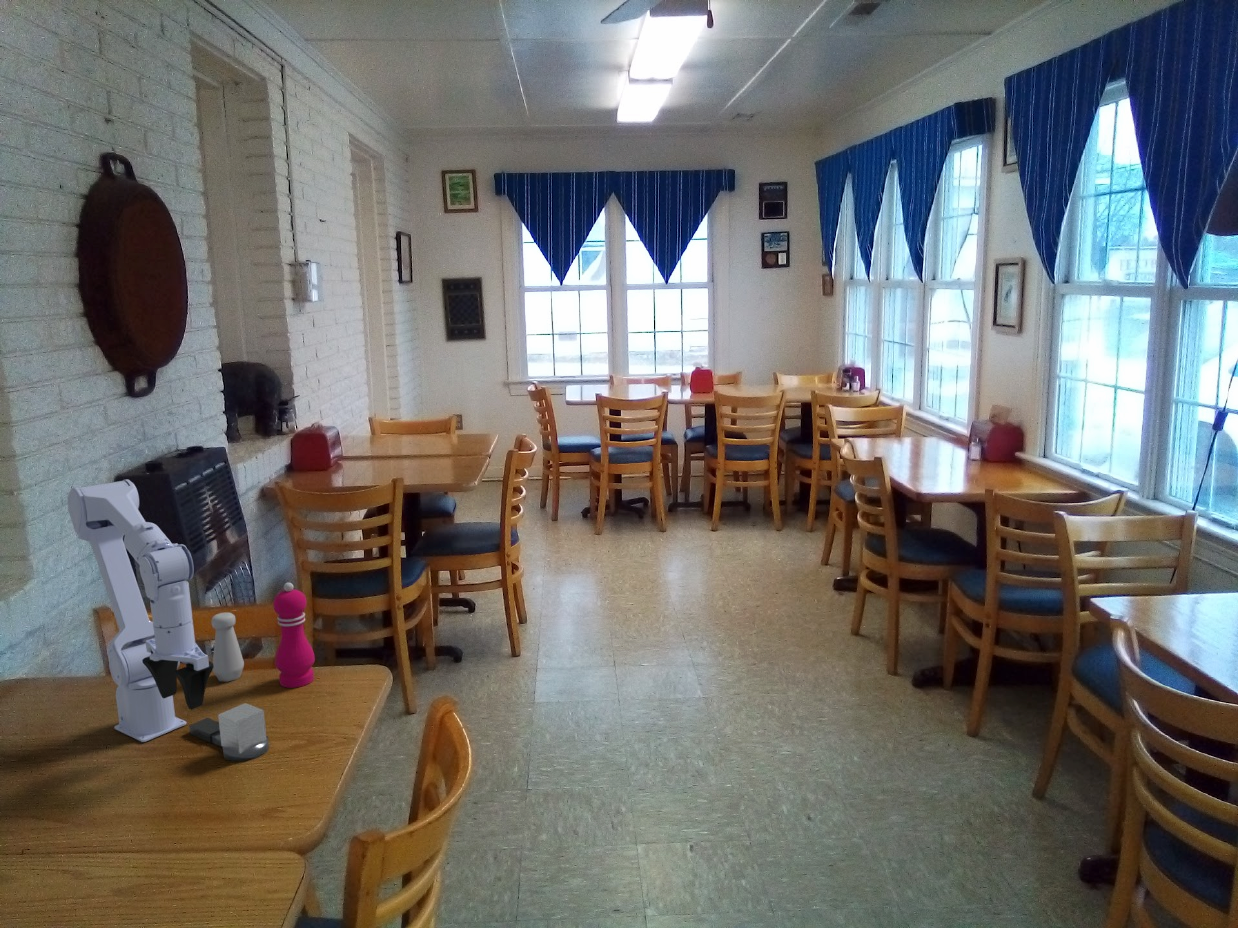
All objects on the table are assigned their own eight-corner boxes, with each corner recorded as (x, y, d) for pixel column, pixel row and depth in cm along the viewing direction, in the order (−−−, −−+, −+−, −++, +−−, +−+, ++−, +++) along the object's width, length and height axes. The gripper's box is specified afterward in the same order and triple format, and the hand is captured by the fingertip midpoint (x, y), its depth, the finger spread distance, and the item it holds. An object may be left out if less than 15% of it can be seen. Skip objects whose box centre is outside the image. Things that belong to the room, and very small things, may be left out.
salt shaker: (233, 684, 179) (226, 620, 176) (207, 682, 180) (199, 619, 177) (251, 672, 184) (244, 610, 182) (225, 670, 185) (218, 608, 183)
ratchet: (179, 737, 158) (176, 713, 157) (216, 721, 164) (213, 698, 163) (240, 765, 148) (237, 740, 147) (277, 747, 154) (275, 722, 153)
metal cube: (221, 745, 152) (218, 714, 151) (248, 733, 156) (245, 702, 155) (239, 753, 149) (236, 722, 148) (266, 740, 153) (263, 710, 152)
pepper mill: (283, 674, 183) (273, 577, 179) (320, 672, 184) (312, 575, 180) (272, 690, 176) (263, 589, 172) (311, 688, 176) (302, 587, 173)
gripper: (123, 621, 148) (133, 699, 151) (174, 638, 140) (184, 721, 143) (165, 608, 154) (174, 684, 157) (217, 624, 146) (225, 704, 149)
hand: (182, 701), depth 150 cm, fingers open, 7 cm apart
